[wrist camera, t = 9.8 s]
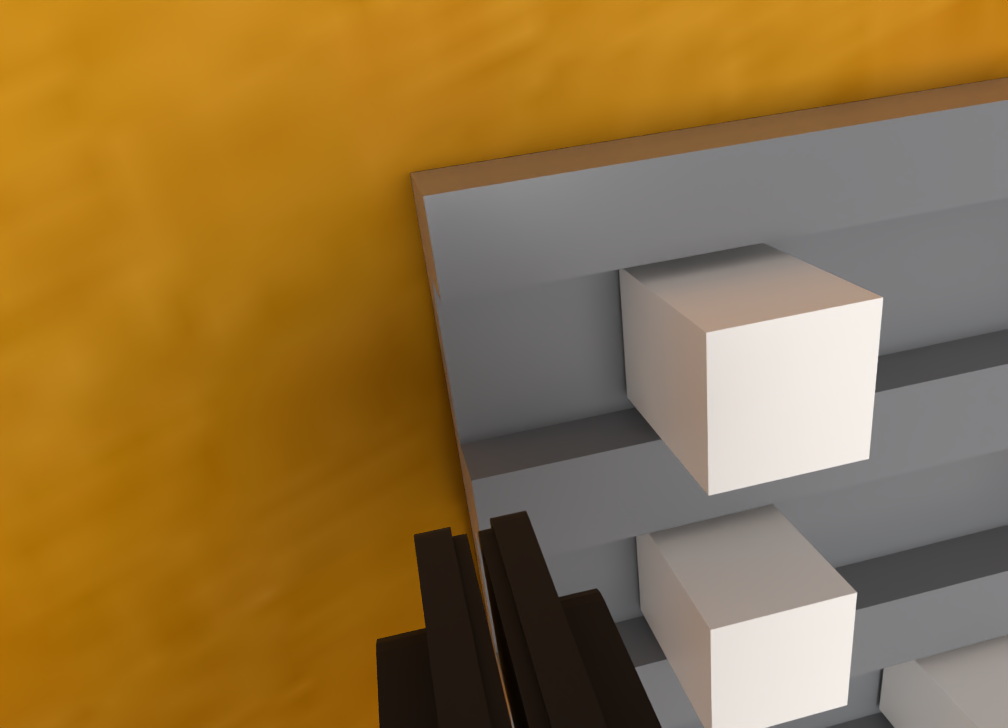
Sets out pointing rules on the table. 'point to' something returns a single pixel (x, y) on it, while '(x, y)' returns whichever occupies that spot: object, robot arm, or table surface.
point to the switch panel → (714, 227)
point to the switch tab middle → (748, 618)
